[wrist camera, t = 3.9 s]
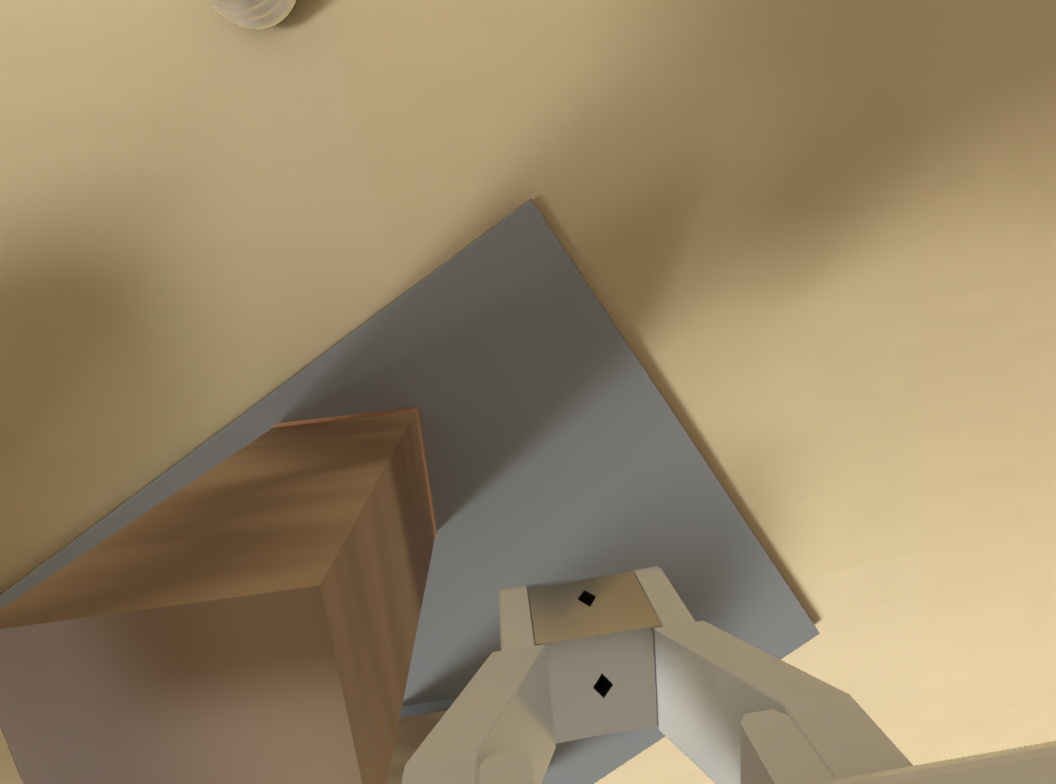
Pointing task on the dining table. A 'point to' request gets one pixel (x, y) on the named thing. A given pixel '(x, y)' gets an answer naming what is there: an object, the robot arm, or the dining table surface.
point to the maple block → (414, 733)
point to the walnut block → (235, 621)
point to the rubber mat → (520, 465)
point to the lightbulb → (253, 12)
